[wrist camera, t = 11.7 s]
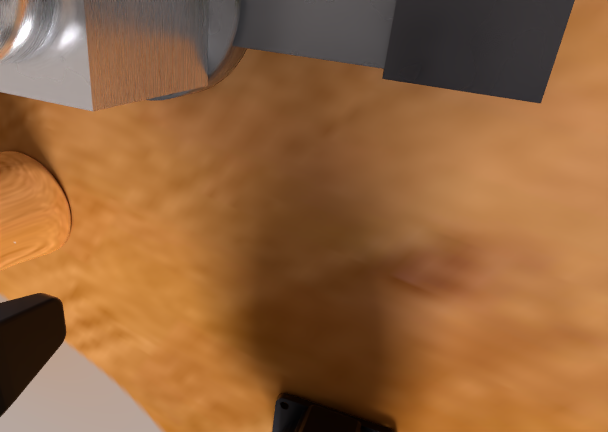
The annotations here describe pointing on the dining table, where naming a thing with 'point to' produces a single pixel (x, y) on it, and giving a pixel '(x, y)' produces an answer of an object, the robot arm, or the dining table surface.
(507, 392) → the dining table surface
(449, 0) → the ratchet
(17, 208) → the beer glass
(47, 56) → the cube with round boss
